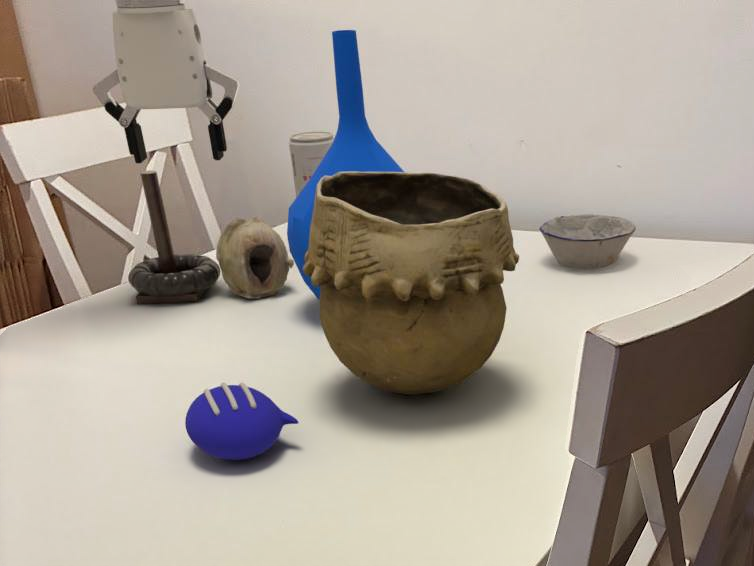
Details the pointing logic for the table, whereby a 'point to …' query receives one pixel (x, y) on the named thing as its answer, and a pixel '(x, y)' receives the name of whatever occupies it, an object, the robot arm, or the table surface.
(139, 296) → the brown upright peg
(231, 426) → the decorative object
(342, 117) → the vase
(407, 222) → the clay pot
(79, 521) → the table surface
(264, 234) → the beige rounded lump
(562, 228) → the bowl
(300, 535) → the table surface
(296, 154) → the beverage can
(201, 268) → the ring
